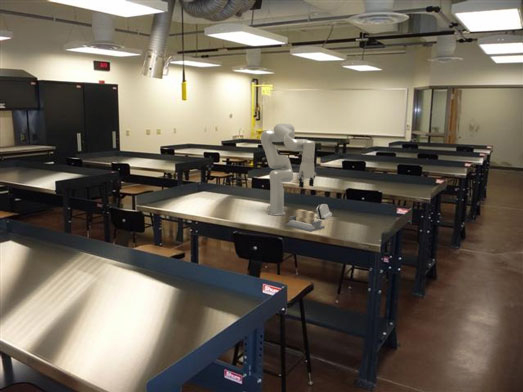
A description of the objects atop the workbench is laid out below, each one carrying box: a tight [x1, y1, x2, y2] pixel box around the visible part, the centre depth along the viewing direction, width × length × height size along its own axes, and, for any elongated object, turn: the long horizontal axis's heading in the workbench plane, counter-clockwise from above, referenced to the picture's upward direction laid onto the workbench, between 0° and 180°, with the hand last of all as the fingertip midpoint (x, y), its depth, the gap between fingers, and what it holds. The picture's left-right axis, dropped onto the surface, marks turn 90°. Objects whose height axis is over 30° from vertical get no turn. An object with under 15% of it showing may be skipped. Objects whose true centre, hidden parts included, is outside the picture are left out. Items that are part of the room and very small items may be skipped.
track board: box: [285, 215, 325, 233], centre depth 284 cm, size 20×14×5 cm
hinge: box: [315, 203, 333, 221], centre depth 314 cm, size 17×5×10 cm, turn 155°
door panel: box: [296, 208, 316, 224], centre depth 284 cm, size 12×3×9 cm, turn 46°
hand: (306, 186), depth 289 cm, fingers open, 9 cm apart
